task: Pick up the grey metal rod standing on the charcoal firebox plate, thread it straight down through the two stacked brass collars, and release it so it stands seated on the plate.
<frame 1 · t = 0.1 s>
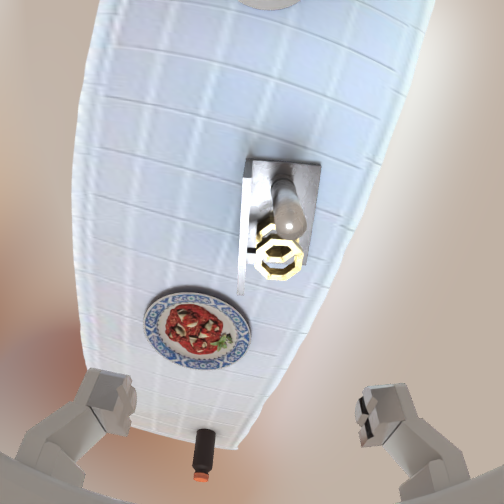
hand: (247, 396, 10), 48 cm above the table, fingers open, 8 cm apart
grey metal rod: (281, 184, 54), point 1 cm above the table, touching collar stand
ceramic plate: (197, 329, 74), on the table
bottle: (206, 432, 100), on the table
collar stand: (278, 213, 58), on the table
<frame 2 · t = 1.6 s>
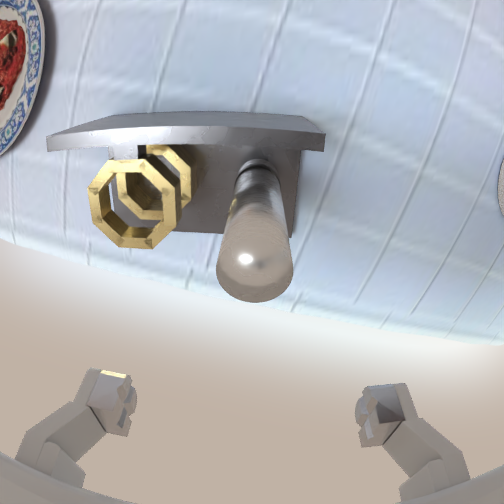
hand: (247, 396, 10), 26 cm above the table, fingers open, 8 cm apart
grey metal rod: (258, 177, 31), point 1 cm above the table, touching collar stand
collar stand: (200, 172, 32), on the table
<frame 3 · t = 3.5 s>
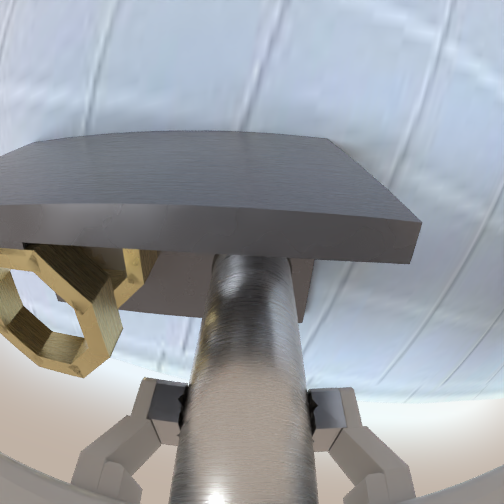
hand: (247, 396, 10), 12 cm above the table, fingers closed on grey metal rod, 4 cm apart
grey metal rod: (252, 241, 19), point 1 cm above the table, touching collar stand, gripper
collar stand: (163, 228, 20), on the table
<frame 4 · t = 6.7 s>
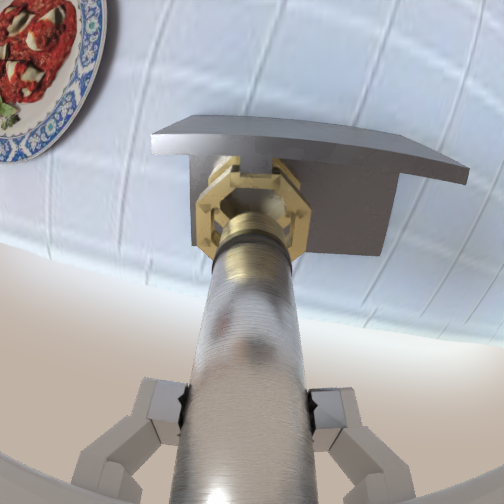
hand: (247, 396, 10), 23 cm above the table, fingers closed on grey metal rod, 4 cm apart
grey metal rod: (252, 242, 19), point 12 cm above the table, touching gripper
ceramic plate: (21, 55, 22), on the table
collar stand: (295, 186, 30), on the table
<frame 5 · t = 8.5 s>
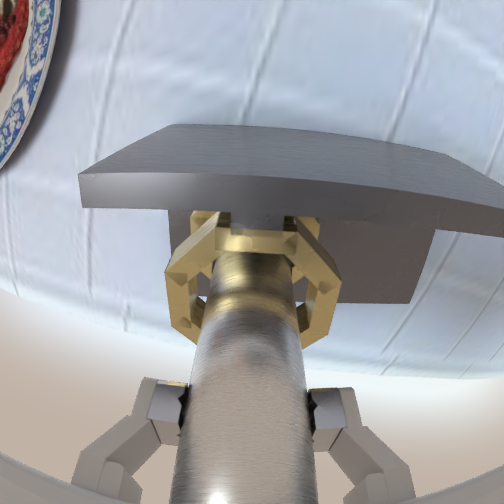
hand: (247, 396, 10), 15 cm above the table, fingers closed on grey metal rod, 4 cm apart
grey metal rod: (252, 242, 19), point 4 cm above the table, touching gripper
collar stand: (309, 220, 23), on the table
when the fingers open (13 cm above the table, at t = 10.0 s): grey metal rod stays where it is, resting on collar stand.
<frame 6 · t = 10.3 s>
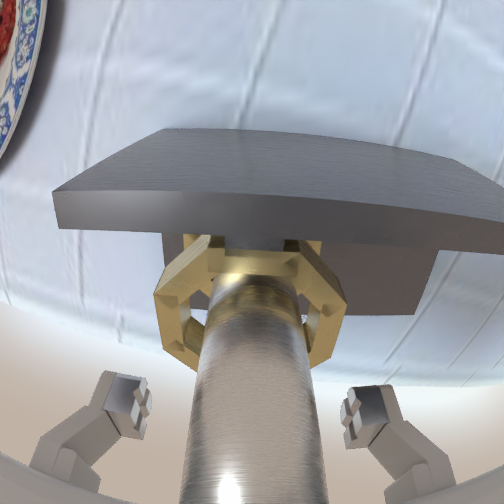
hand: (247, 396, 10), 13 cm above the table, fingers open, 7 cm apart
grey metal rod: (253, 235, 20), point 1 cm above the table, touching collar stand
collar stand: (310, 230, 21), on the table
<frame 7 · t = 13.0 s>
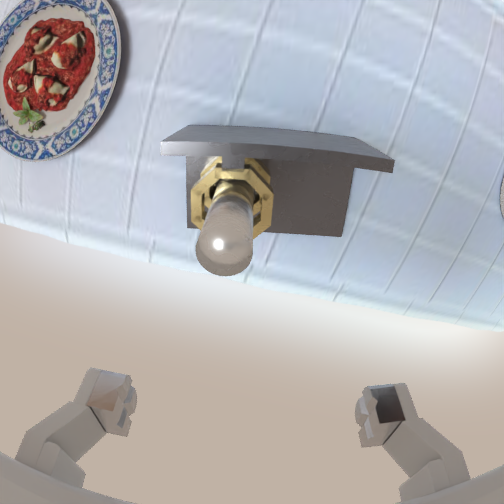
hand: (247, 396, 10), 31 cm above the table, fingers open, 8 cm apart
grey metal rod: (236, 181, 37), point 1 cm above the table, touching collar stand
ceramic plate: (45, 70, 30), on the table
collar stand: (269, 180, 38), on the table
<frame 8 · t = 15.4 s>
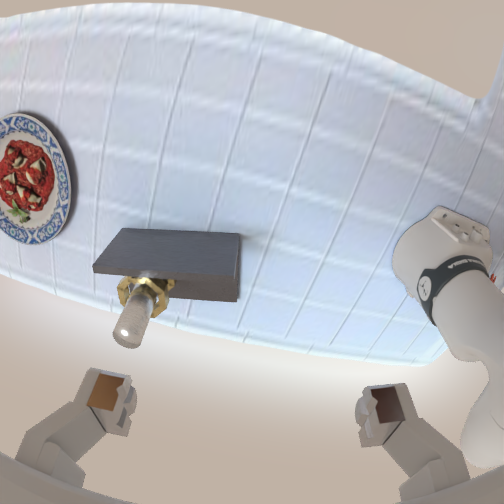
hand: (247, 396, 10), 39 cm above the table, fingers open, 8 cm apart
grey metal rod: (157, 267, 52), point 1 cm above the table, touching collar stand
ceramic plate: (24, 178, 46), on the table
collar stand: (180, 264, 54), on the table
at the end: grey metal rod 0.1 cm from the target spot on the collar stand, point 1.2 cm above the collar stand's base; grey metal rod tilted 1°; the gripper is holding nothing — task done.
